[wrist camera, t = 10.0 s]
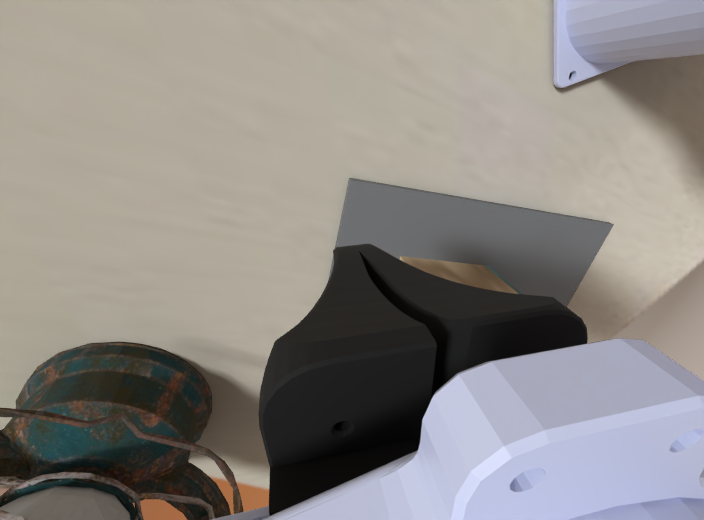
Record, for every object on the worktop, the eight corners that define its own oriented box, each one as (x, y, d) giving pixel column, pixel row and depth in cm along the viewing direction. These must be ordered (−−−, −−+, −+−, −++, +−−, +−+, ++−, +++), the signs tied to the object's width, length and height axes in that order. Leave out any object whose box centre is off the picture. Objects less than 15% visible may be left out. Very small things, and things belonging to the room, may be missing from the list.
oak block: (525, 296, 22) (423, 287, 20) (499, 347, 23) (404, 344, 22) (488, 265, 26) (400, 256, 24) (468, 311, 27) (385, 306, 25)
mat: (608, 222, 26) (613, 224, 26) (533, 354, 32) (537, 357, 32) (349, 177, 21) (350, 179, 20) (315, 347, 27) (315, 351, 26)
